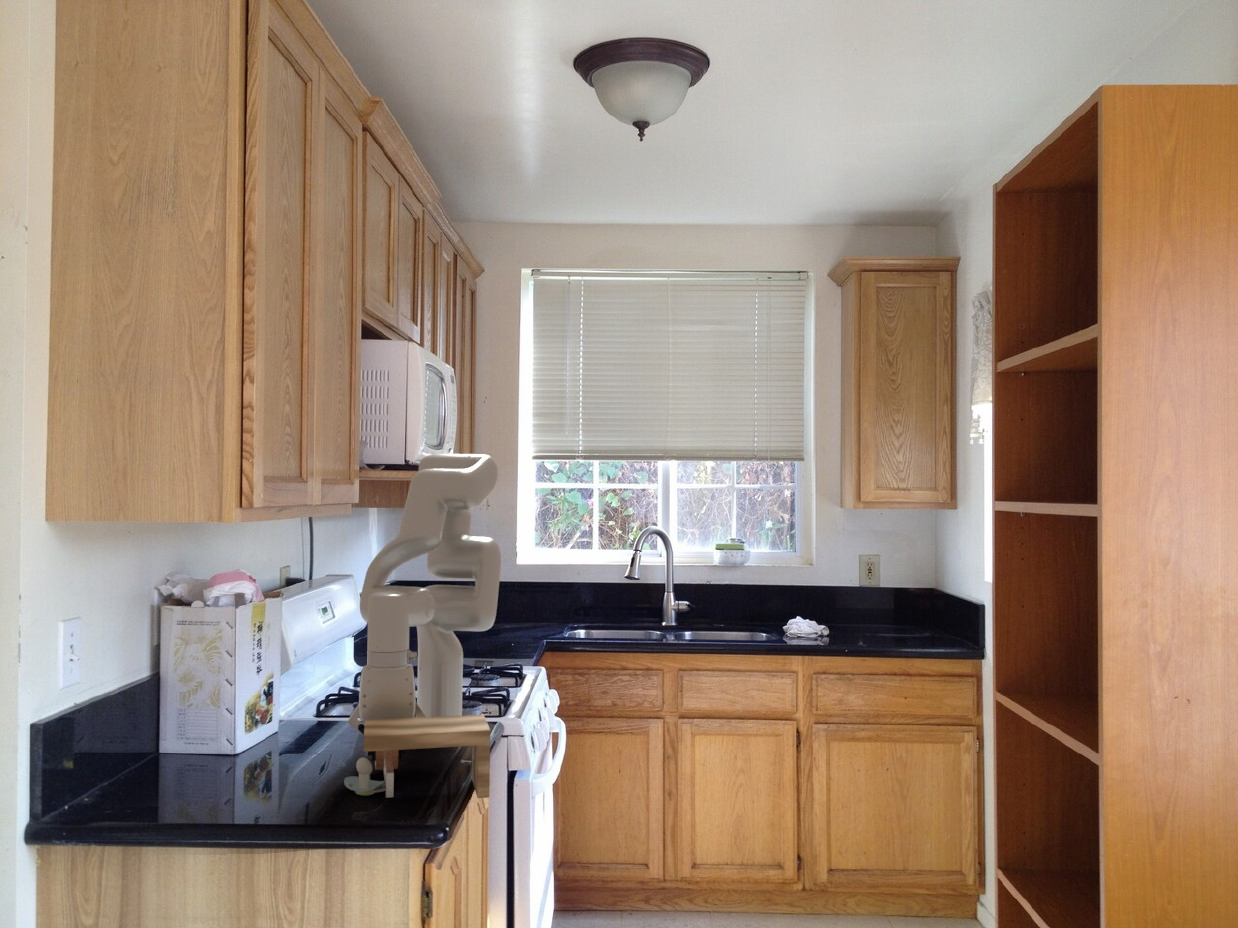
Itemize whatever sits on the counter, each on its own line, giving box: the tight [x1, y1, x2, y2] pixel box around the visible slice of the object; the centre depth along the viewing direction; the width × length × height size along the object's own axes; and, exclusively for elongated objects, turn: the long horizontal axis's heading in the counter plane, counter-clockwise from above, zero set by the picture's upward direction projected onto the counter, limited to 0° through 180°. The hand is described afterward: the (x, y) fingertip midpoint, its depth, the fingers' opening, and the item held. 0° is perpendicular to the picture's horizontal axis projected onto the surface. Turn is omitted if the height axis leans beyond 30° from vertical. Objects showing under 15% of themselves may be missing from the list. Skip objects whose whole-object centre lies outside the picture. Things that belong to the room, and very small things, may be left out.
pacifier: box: [343, 756, 385, 796], centre depth 165 cm, size 7×6×6 cm
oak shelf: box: [363, 714, 491, 799], centre depth 166 cm, size 11×21×12 cm, turn 104°
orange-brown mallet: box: [374, 750, 399, 798], centre depth 168 cm, size 20×4×9 cm, turn 15°
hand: (386, 757), depth 176 cm, fingers closed on orange-brown mallet, 4 cm apart
